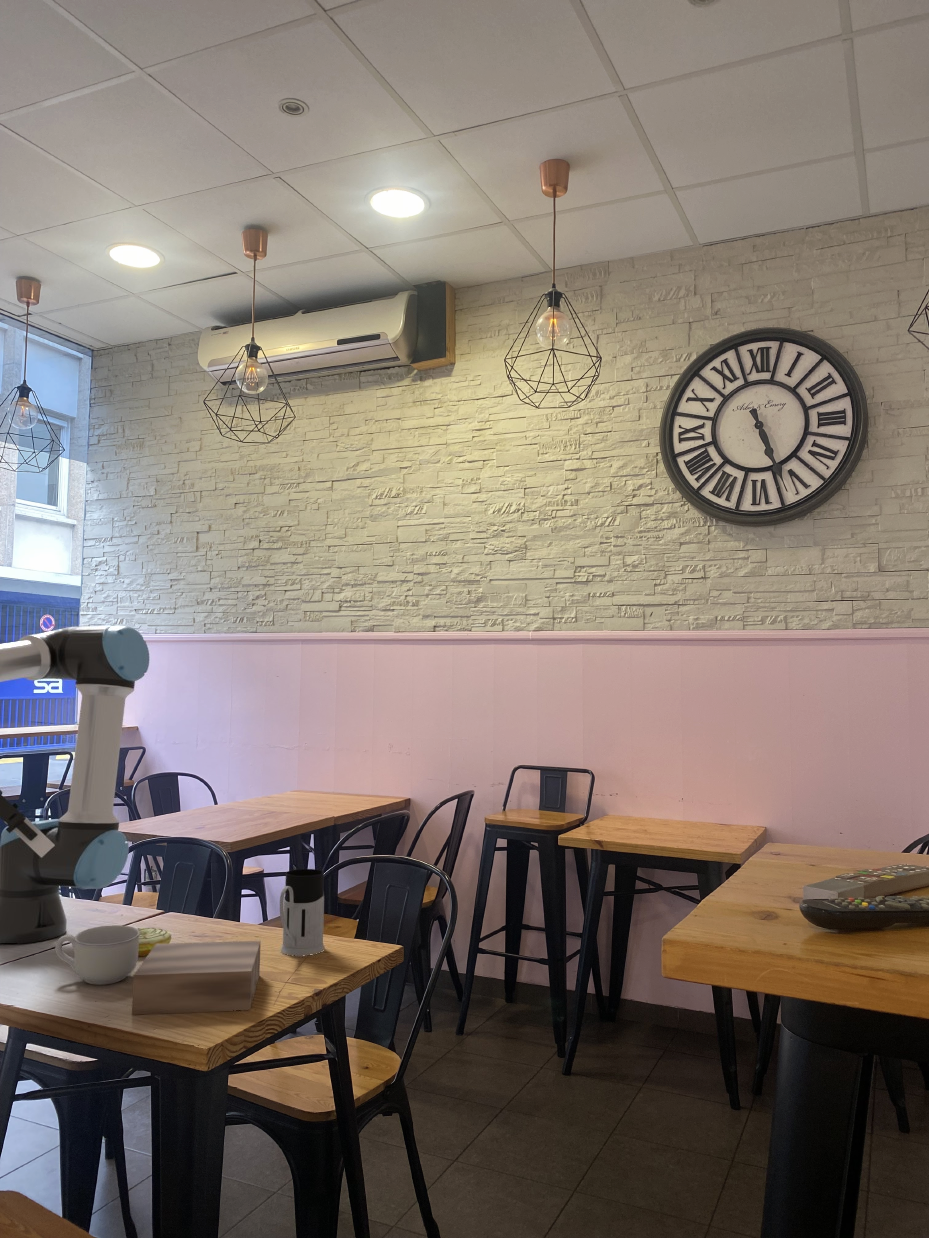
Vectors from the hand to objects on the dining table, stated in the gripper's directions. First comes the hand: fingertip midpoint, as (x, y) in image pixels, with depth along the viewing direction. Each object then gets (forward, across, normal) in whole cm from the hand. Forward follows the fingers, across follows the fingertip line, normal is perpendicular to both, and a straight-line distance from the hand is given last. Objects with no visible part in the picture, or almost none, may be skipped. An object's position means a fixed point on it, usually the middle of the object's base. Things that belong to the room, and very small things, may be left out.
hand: (42, 846), depth 151 cm
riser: (+33, +17, 0) cm, 37 cm away
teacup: (+24, 0, -9) cm, 26 cm away
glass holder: (+49, +3, +17) cm, 52 cm away
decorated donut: (+31, -15, -1) cm, 35 cm away
